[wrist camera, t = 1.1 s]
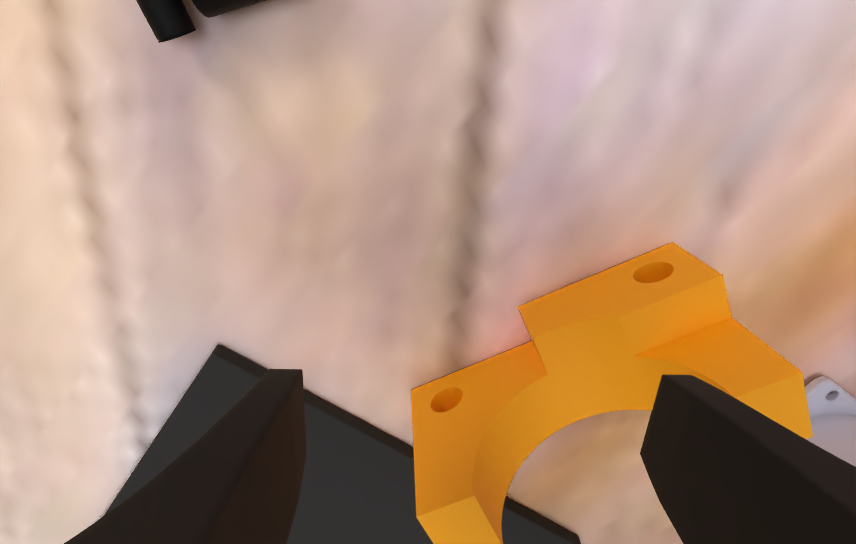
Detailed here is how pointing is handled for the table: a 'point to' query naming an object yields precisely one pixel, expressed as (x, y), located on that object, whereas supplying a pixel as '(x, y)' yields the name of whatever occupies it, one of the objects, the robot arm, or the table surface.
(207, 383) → the mat
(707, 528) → the robot arm
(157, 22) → the light fixture
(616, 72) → the table surface
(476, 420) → the pipe clamp
